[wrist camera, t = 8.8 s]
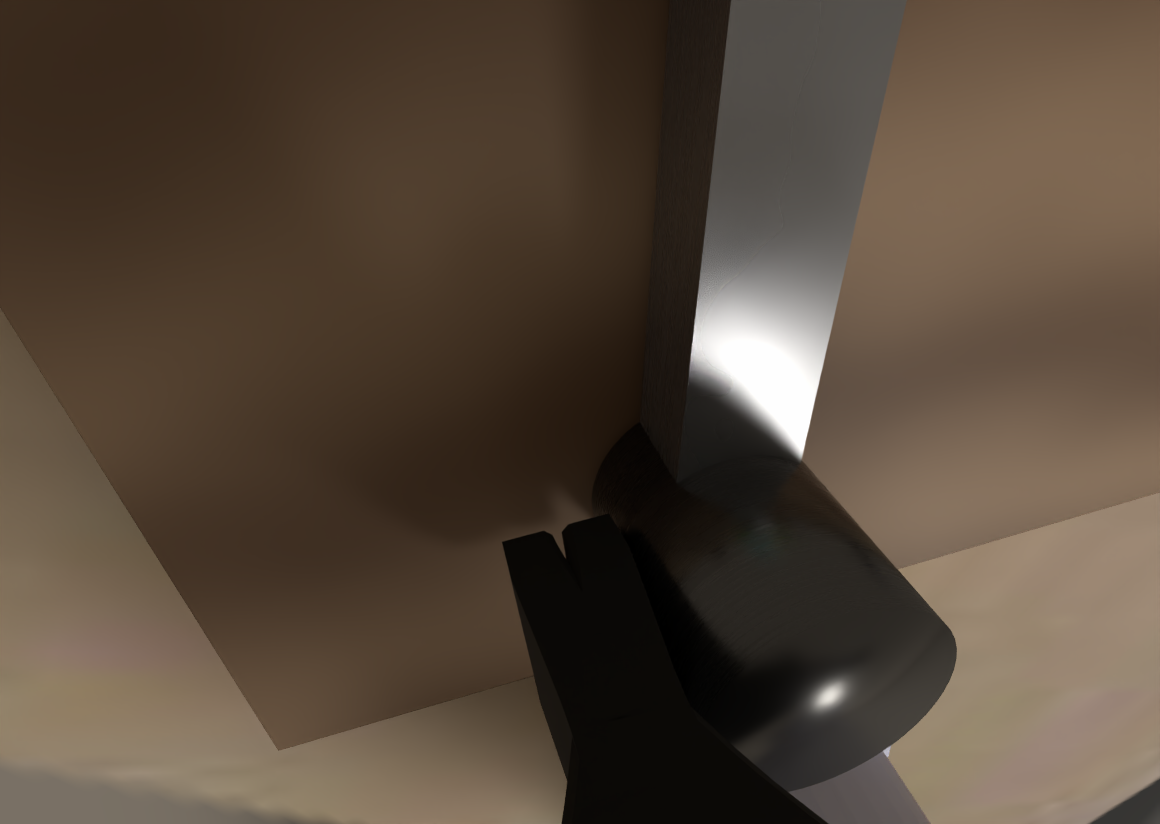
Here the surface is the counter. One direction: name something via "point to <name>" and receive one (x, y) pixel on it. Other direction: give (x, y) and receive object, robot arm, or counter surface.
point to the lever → (765, 394)
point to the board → (536, 299)
